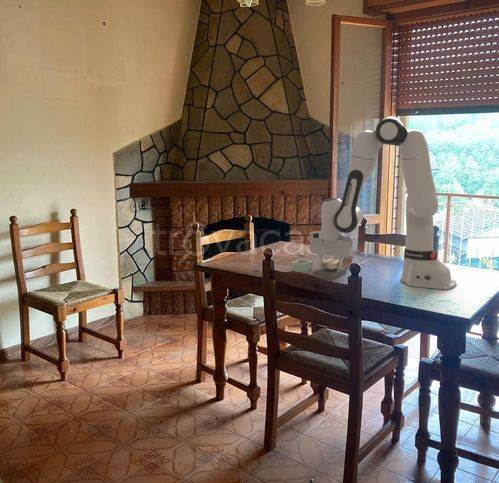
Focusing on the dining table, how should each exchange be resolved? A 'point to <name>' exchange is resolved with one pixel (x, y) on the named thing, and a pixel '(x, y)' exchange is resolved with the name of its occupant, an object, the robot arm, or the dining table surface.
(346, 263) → the teacup with lid
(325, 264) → the lid board
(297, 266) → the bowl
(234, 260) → the dining table surface
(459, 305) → the dining table surface
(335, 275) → the trivet
